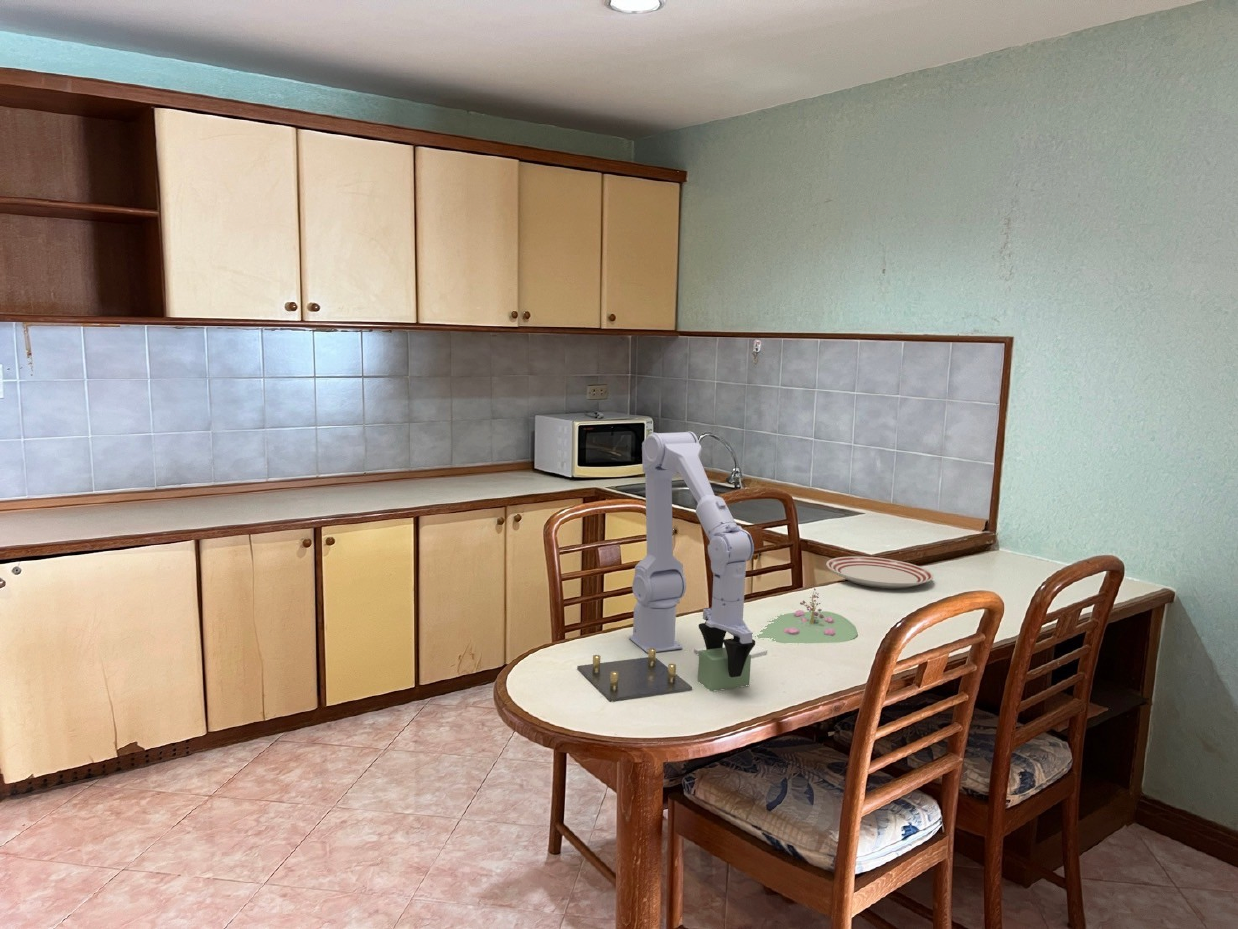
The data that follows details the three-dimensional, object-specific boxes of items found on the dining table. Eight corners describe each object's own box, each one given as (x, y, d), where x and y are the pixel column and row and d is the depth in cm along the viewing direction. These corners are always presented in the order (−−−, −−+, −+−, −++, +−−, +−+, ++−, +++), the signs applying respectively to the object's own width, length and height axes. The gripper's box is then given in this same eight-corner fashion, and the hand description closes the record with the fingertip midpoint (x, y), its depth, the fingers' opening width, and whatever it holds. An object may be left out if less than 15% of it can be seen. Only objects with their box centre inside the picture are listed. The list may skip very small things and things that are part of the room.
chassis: (577, 668, 173) (577, 650, 172) (653, 659, 179) (654, 641, 179) (610, 701, 158) (610, 682, 158) (692, 690, 165) (693, 671, 164)
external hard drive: (767, 657, 184) (721, 669, 177) (738, 645, 191) (693, 655, 183) (767, 649, 184) (721, 661, 177) (739, 637, 190) (693, 648, 183)
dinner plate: (868, 561, 262) (869, 550, 262) (953, 584, 241) (955, 572, 240) (804, 574, 246) (804, 562, 245) (889, 601, 224) (890, 588, 224)
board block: (697, 681, 169) (699, 650, 168) (735, 676, 172) (737, 645, 171) (710, 692, 165) (712, 660, 164) (749, 686, 168) (751, 655, 167)
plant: (806, 658, 184) (809, 615, 183) (729, 630, 200) (731, 590, 198) (876, 633, 201) (879, 593, 199) (800, 609, 216) (802, 572, 215)
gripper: (689, 587, 171) (686, 657, 173) (729, 610, 158) (725, 685, 160) (722, 584, 174) (719, 653, 176) (764, 607, 160) (759, 680, 163)
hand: (724, 668), depth 168 cm, fingers open, 7 cm apart
